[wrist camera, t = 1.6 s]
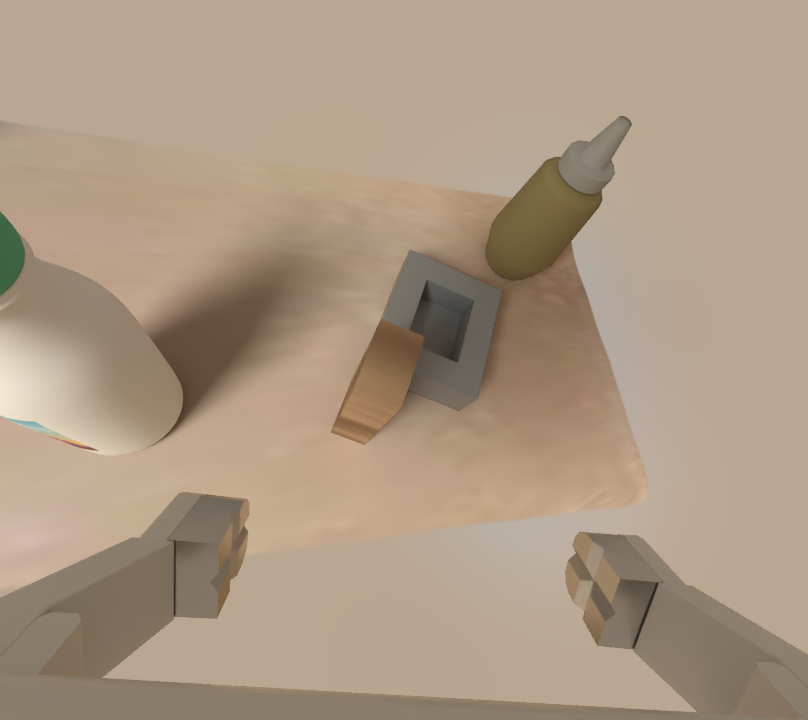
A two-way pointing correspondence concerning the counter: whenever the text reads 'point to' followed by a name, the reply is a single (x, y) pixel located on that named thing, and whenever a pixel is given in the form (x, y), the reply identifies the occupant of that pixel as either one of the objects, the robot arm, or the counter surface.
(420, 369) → the grey hollow block
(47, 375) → the milk bottle
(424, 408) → the counter surface
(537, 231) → the squeeze bottle
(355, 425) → the wooden block
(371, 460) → the counter surface
